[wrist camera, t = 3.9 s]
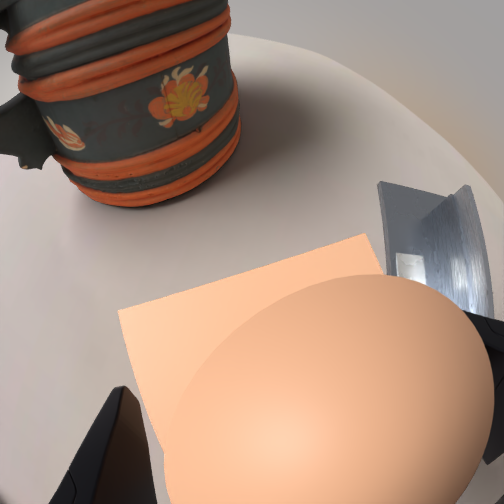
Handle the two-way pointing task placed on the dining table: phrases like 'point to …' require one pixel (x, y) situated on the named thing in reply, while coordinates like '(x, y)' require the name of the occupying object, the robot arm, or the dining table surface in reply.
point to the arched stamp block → (313, 385)
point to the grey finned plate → (437, 244)
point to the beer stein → (121, 94)
